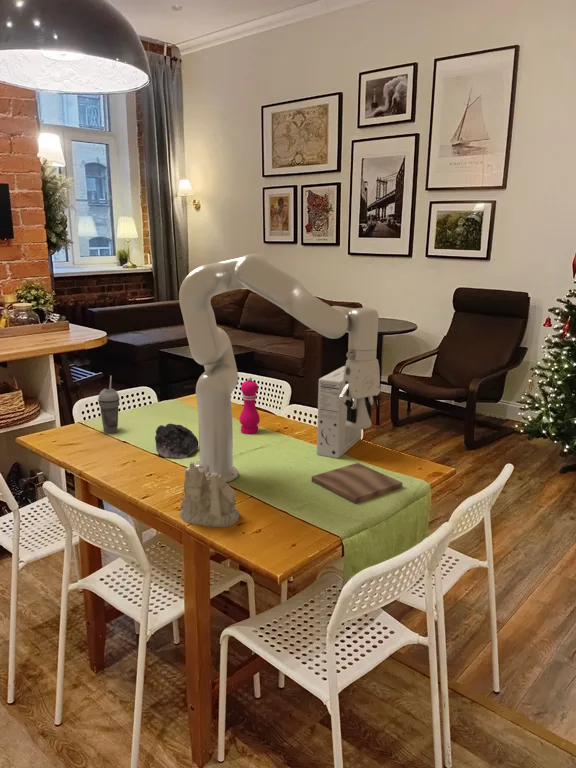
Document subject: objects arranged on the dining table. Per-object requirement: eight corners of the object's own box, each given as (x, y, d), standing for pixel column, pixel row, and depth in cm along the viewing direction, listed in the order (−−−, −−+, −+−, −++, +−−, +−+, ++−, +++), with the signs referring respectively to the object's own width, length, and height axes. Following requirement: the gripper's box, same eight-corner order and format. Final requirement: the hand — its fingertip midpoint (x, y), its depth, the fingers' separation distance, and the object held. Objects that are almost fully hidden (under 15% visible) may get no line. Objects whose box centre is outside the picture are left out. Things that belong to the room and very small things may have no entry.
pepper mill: (259, 434, 208) (259, 379, 204) (238, 434, 209) (238, 378, 204) (260, 428, 216) (260, 374, 211) (240, 427, 216) (240, 374, 211)
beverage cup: (102, 428, 213) (98, 373, 208) (123, 427, 214) (120, 373, 209) (98, 434, 206) (94, 378, 201) (119, 434, 207) (116, 378, 202)
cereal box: (340, 435, 209) (343, 365, 203) (361, 438, 206) (364, 368, 200) (316, 454, 190) (318, 378, 184) (338, 458, 187) (341, 381, 181)
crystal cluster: (207, 453, 193) (206, 423, 191) (174, 461, 182) (174, 429, 181) (179, 447, 201) (178, 418, 200) (146, 454, 190) (146, 424, 189)
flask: (363, 431, 159) (365, 395, 157) (340, 426, 163) (341, 391, 161) (376, 425, 165) (378, 390, 162) (353, 420, 169) (355, 386, 167)
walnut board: (355, 503, 156) (355, 498, 156) (311, 481, 170) (311, 476, 170) (402, 487, 167) (402, 482, 166) (357, 467, 180) (357, 462, 180)
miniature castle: (227, 530, 141) (226, 469, 138) (167, 521, 146) (165, 462, 144) (254, 507, 155) (253, 451, 152) (198, 499, 161) (197, 445, 158)
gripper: (348, 360, 151) (345, 429, 156) (394, 354, 161) (390, 418, 166) (328, 355, 157) (326, 421, 162) (374, 349, 167) (371, 411, 172)
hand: (358, 419), depth 164 cm, fingers closed on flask, 4 cm apart
